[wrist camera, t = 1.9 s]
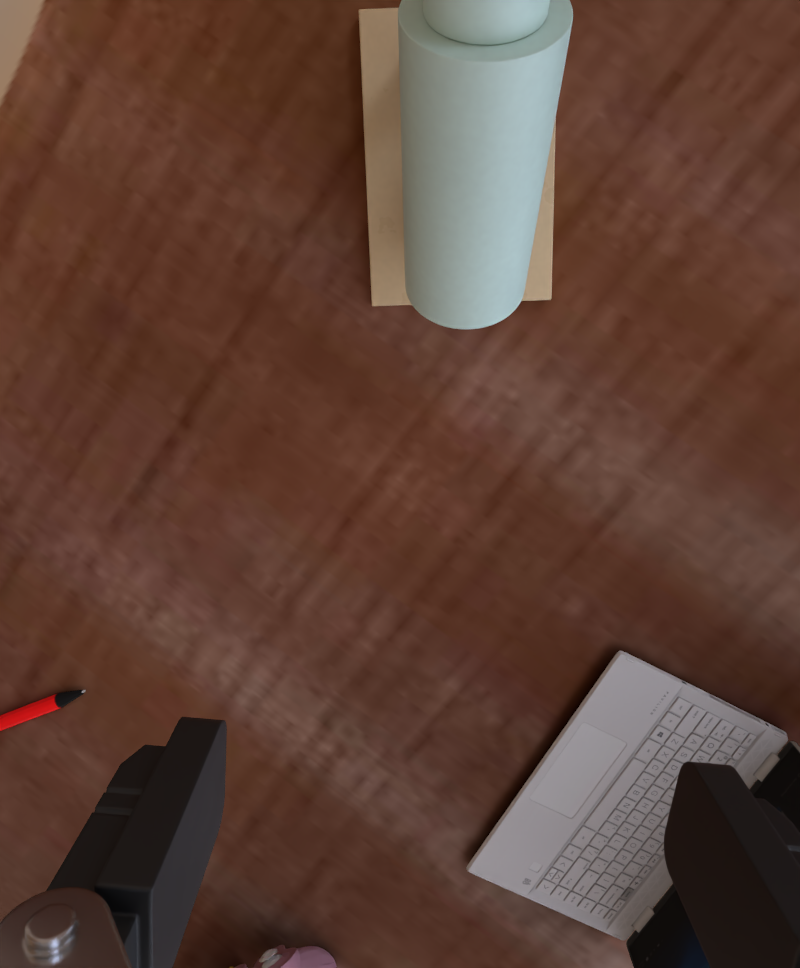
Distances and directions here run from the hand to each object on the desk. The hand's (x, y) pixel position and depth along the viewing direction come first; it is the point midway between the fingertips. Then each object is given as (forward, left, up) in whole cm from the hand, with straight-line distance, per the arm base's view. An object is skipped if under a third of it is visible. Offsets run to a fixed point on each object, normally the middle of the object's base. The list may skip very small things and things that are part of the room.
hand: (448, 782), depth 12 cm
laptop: (+1, +26, -27) cm, 38 cm away
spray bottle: (-9, -11, -18) cm, 23 cm away
